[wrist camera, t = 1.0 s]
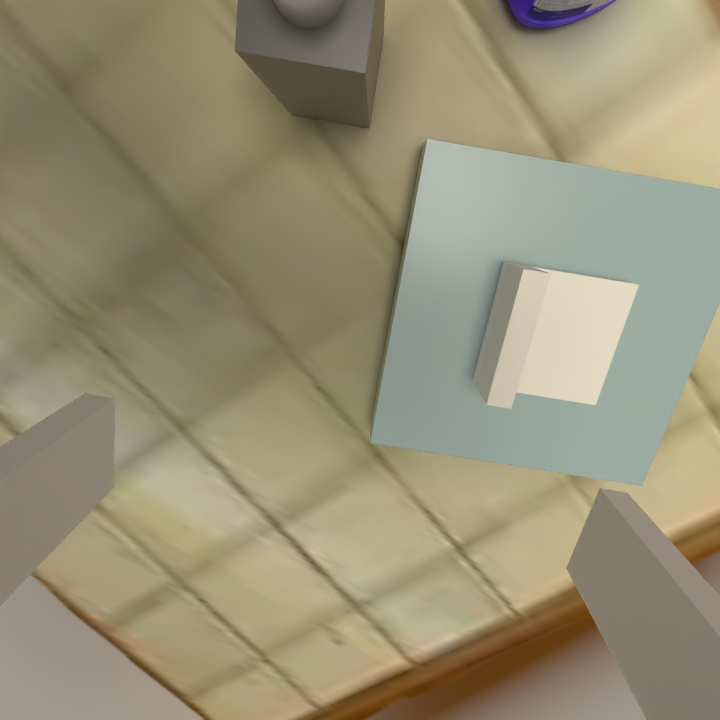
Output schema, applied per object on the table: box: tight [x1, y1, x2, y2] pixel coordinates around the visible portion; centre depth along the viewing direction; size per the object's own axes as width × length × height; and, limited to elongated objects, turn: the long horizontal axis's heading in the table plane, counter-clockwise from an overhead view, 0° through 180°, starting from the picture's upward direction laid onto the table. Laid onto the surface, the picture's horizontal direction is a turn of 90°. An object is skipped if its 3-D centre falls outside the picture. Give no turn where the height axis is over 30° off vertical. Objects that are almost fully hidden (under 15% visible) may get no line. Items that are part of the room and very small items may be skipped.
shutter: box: [473, 261, 639, 409], centre depth 27 cm, size 8×8×4 cm
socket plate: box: [370, 139, 720, 486], centre depth 31 cm, size 20×20×3 cm
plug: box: [235, 0, 385, 128], centre depth 20 cm, size 5×5×15 cm
